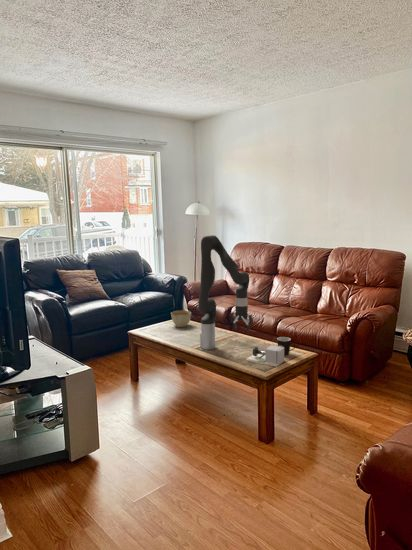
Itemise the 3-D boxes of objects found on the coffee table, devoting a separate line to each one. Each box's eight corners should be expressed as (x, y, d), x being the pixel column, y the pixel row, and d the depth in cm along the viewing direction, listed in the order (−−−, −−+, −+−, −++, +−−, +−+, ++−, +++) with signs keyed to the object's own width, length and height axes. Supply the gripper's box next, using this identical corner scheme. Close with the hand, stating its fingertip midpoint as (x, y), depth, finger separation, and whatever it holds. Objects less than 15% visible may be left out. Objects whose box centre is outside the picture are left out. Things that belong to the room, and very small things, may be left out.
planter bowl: (191, 328, 322) (191, 314, 320) (171, 329, 321) (170, 315, 319) (191, 322, 337) (191, 310, 336) (171, 323, 337) (171, 310, 335)
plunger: (250, 358, 248) (250, 349, 247) (256, 354, 255) (256, 345, 254) (272, 362, 240) (272, 353, 240) (278, 358, 248) (278, 349, 247)
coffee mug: (274, 353, 262) (274, 338, 260) (285, 351, 265) (285, 336, 264) (284, 359, 251) (284, 343, 250) (296, 356, 255) (296, 341, 253)
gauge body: (246, 360, 250) (245, 346, 248) (254, 354, 260) (254, 341, 258) (277, 366, 239) (277, 352, 237) (285, 360, 249) (285, 346, 247)
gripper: (228, 304, 253) (228, 329, 256) (249, 307, 246) (249, 333, 249) (234, 302, 260) (234, 326, 262) (254, 304, 252) (254, 330, 255)
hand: (241, 329), depth 255 cm, fingers open, 8 cm apart
